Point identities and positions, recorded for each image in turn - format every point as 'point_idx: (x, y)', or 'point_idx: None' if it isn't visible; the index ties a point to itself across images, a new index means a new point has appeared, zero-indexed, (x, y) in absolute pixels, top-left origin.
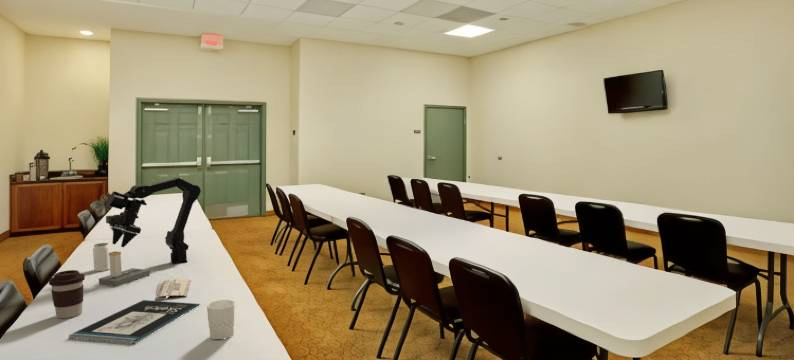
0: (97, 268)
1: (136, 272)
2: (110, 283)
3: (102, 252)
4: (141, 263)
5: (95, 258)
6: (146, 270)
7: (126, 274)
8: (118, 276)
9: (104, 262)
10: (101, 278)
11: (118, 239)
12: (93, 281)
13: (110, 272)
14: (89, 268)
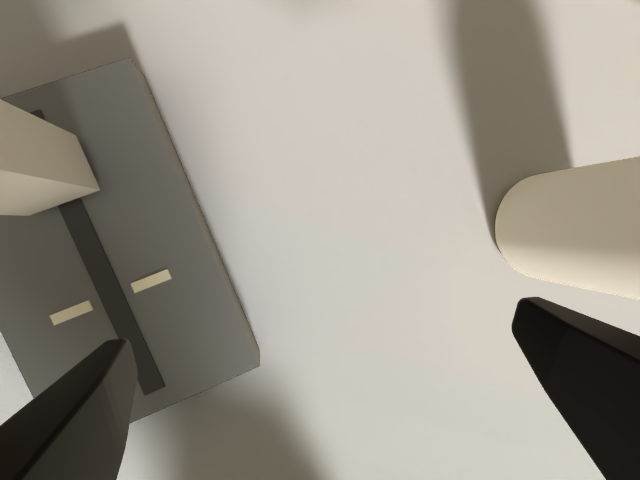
0: (526, 182)
1: (72, 349)
2: None
3: (623, 215)
4: (496, 476)
5: (606, 164)
6: None
7: (72, 265)
8: None
9: (535, 227)
10: (107, 72)
11: (581, 431)
12: (258, 75)
13: (55, 127)
14: None
